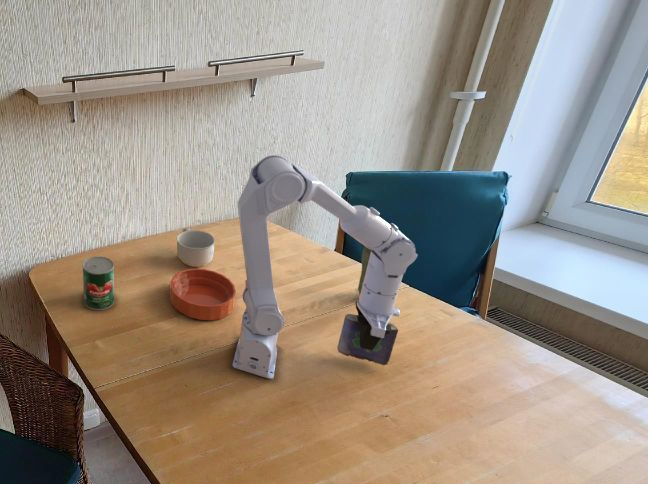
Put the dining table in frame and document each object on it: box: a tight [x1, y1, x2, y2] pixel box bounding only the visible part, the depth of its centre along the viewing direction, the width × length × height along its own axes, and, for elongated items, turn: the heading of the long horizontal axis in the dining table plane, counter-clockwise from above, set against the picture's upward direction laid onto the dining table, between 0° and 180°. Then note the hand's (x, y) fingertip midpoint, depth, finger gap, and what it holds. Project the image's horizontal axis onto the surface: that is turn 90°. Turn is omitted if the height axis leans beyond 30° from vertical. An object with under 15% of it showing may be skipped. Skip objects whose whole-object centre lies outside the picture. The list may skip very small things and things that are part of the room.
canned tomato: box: [81, 256, 115, 311], centre depth 109 cm, size 8×8×11 cm
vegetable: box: [357, 246, 374, 296], centre depth 105 cm, size 4×4×20 cm
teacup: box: [176, 227, 216, 268], centre depth 127 cm, size 14×11×8 cm
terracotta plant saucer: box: [169, 268, 237, 321], centre depth 109 cm, size 16×16×4 cm
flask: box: [336, 313, 399, 366], centre depth 86 cm, size 9×3×11 cm, turn 65°
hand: (365, 342), depth 87 cm, fingers closed on flask, 3 cm apart
